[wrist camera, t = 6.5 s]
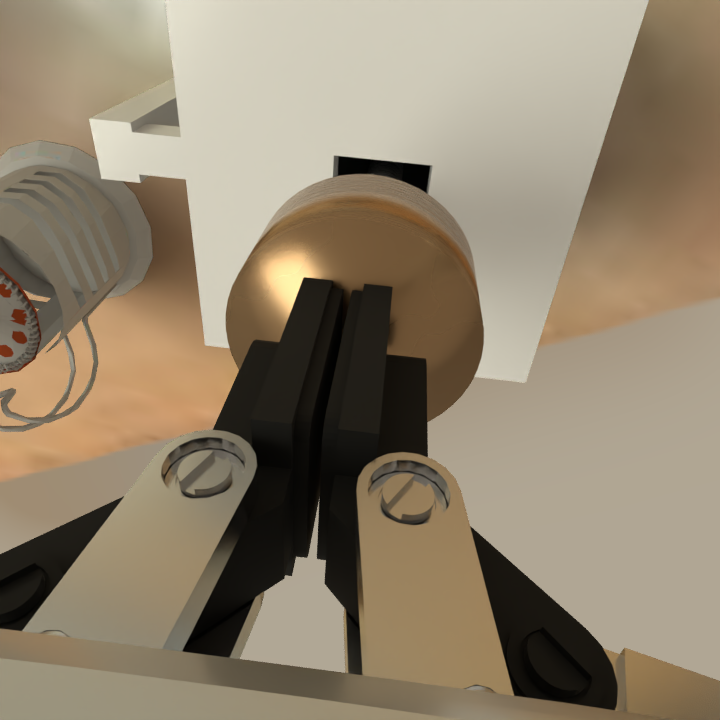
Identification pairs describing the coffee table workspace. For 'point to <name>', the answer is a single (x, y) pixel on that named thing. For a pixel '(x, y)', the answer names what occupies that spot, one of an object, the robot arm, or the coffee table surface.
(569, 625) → the robot arm
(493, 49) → the socket block
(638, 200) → the coffee table surface
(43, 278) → the french press
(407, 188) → the plunger
